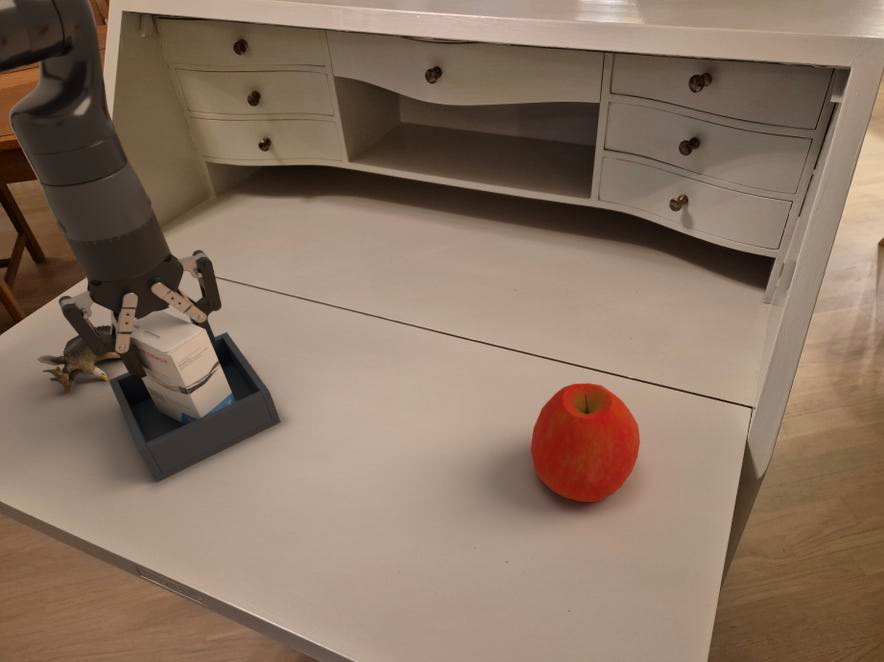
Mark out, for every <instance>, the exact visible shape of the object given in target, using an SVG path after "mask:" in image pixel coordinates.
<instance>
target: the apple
mask: <svg viewBox="0 0 884 662" xmlns="http://www.w3.org/2000/svg"><path fill="white" fill-rule="evenodd" d="M640 445H641V437H640V429H639V424H638V423H637V420H636V419H635V417H634V415H633V413H632V412H631V410H630V409H629V408H628V406H627V405H626V404H625V402H624V401H623V400H622V399H621V398H620V397H619V396H618V395H616V394H615V393H613V392H611V391H610V390H609V389H608V388H606V387H604V385H601V384H596V383H592V382H591V383H590V382H587V383H585V382H584V383H573V384H569V385H566V386H563V387H562V388H560V389H559V390H558V391H556V392H555V393H554V394H553V396H551V397H550V399H548V401H546V403H545V404H544V405H543V406H542V407H541V410H540V411H539V414H538V416H537V419H536V421H535V423H534V425H533V429H532V436H531V443H530V452H531V459H532V463H533V468H534V471H535V472H536V475H537V476H538V478H539V480H540V481H541V482H542V483H543V484H544V485H546V487H547V488H549V489H550V491H552V492H554V493H555V494H557V495H559V496H561V497H562V498H566V499H569V500H573V501H576V502H580V503H588V502H592V503H594V502H595V503H596V502H599V501H601V500H603V499H605V498H608V497H609V496H612V495H613V494H614V493H616V492H617V491H619V490H620V489H621V488H622V487H623V486H624V484H625V483H626V481H627V480H628V478H629V477H630V475H631V473H633V470H634V468H635V465H636V462H637V460H638V457H639V451H640Z"/></svg>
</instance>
